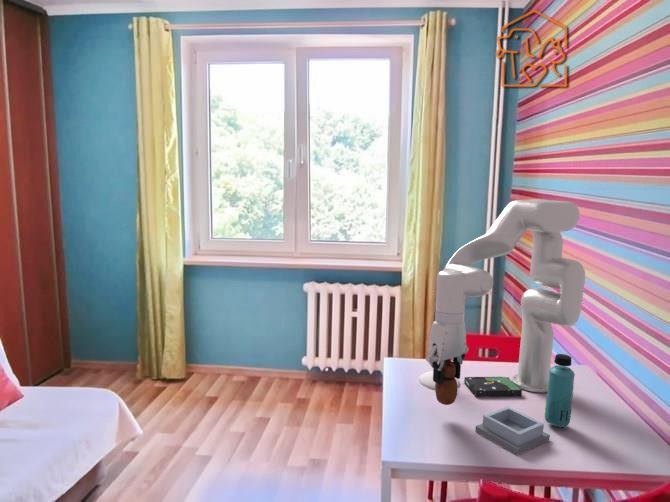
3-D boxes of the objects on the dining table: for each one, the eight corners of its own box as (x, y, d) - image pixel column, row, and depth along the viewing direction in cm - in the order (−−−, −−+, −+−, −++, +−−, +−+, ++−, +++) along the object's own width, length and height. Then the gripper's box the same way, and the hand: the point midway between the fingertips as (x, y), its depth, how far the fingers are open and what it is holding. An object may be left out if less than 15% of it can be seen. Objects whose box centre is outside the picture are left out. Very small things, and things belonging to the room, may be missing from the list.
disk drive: (475, 399, 152) (522, 398, 154) (476, 390, 152) (522, 389, 154) (463, 384, 163) (507, 383, 164) (463, 376, 162) (507, 375, 164)
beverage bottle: (558, 434, 132) (566, 362, 129) (537, 422, 138) (544, 353, 135) (575, 429, 135) (583, 358, 132) (554, 418, 141) (561, 349, 138)
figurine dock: (506, 418, 140) (508, 403, 139) (549, 440, 129) (551, 424, 128) (475, 431, 132) (476, 415, 132) (517, 455, 122) (518, 437, 121)
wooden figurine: (432, 395, 142) (435, 345, 139) (453, 396, 142) (456, 345, 139) (437, 407, 135) (439, 354, 133) (458, 408, 135) (461, 355, 133)
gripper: (461, 308, 142) (458, 368, 145) (415, 318, 133) (413, 382, 136) (482, 314, 136) (478, 377, 139) (436, 326, 126) (433, 393, 130)
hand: (446, 379), depth 137 cm, fingers closed on wooden figurine, 5 cm apart
